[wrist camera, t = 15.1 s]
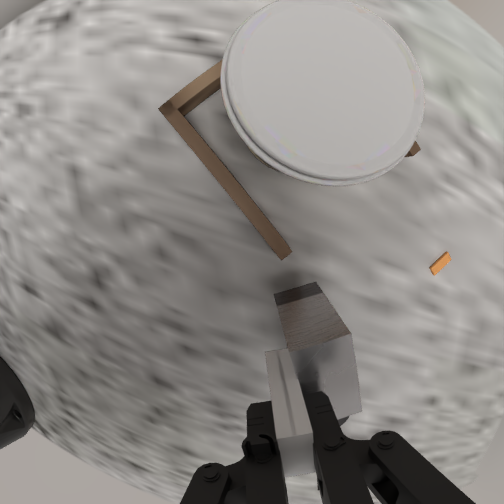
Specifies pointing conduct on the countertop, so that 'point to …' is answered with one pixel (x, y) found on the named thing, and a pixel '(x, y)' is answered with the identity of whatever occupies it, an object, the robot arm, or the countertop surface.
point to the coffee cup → (322, 91)
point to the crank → (320, 348)
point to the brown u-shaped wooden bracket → (175, 115)
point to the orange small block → (440, 263)
